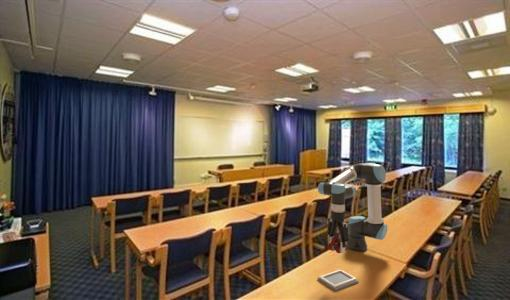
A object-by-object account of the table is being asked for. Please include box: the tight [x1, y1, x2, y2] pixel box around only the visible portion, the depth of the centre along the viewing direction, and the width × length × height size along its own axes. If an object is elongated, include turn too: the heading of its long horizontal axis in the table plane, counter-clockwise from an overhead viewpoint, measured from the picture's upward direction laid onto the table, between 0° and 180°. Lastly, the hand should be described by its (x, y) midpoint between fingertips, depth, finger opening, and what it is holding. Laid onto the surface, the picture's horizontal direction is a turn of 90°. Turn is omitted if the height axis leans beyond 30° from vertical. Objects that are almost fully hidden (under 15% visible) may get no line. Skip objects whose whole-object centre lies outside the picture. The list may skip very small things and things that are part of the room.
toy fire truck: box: [327, 231, 348, 254], centre depth 156 cm, size 7×12×10 cm, turn 127°
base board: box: [317, 269, 359, 292], centre depth 156 cm, size 18×14×2 cm
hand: (337, 249), depth 156 cm, fingers closed on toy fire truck, 7 cm apart
